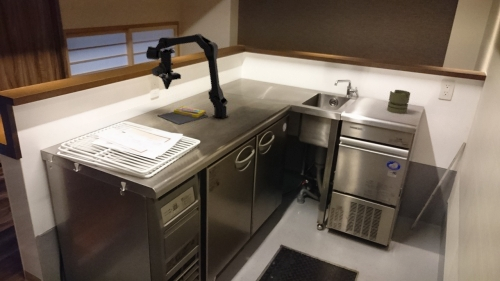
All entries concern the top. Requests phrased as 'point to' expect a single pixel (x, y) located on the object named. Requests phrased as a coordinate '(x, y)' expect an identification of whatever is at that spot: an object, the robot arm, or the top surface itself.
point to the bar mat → (179, 118)
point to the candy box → (189, 111)
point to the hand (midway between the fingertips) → (166, 89)
